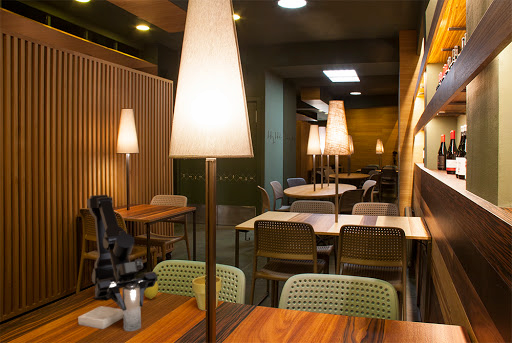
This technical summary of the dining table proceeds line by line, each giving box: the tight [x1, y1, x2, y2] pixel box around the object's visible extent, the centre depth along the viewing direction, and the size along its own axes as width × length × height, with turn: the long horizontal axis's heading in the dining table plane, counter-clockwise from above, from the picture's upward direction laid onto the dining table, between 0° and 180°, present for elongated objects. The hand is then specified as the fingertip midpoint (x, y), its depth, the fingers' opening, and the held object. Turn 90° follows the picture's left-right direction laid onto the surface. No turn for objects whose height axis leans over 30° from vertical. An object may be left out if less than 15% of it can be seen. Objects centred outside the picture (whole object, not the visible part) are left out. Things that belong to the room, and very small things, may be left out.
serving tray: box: [77, 305, 123, 330], centre depth 132 cm, size 10×10×2 cm
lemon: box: [144, 281, 159, 300], centre depth 151 cm, size 6×6×8 cm
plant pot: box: [191, 275, 223, 311], centre depth 142 cm, size 10×10×10 cm
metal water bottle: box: [121, 284, 142, 332], centre depth 126 cm, size 5×5×14 cm
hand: (133, 308), depth 125 cm, fingers closed on metal water bottle, 5 cm apart
